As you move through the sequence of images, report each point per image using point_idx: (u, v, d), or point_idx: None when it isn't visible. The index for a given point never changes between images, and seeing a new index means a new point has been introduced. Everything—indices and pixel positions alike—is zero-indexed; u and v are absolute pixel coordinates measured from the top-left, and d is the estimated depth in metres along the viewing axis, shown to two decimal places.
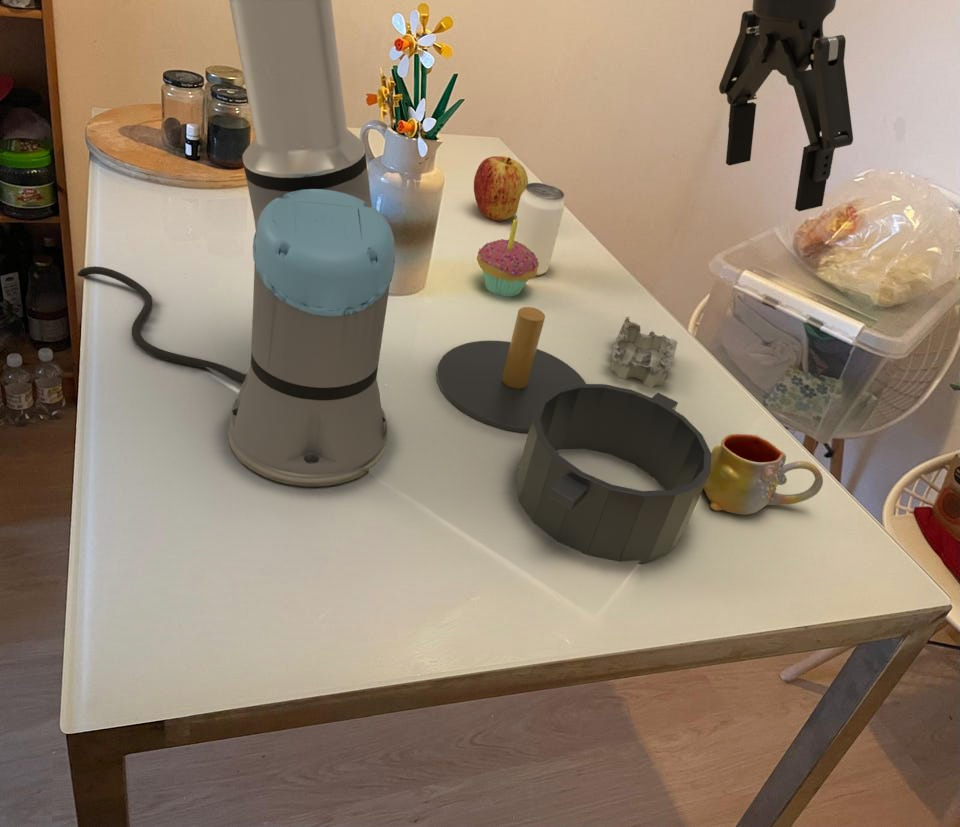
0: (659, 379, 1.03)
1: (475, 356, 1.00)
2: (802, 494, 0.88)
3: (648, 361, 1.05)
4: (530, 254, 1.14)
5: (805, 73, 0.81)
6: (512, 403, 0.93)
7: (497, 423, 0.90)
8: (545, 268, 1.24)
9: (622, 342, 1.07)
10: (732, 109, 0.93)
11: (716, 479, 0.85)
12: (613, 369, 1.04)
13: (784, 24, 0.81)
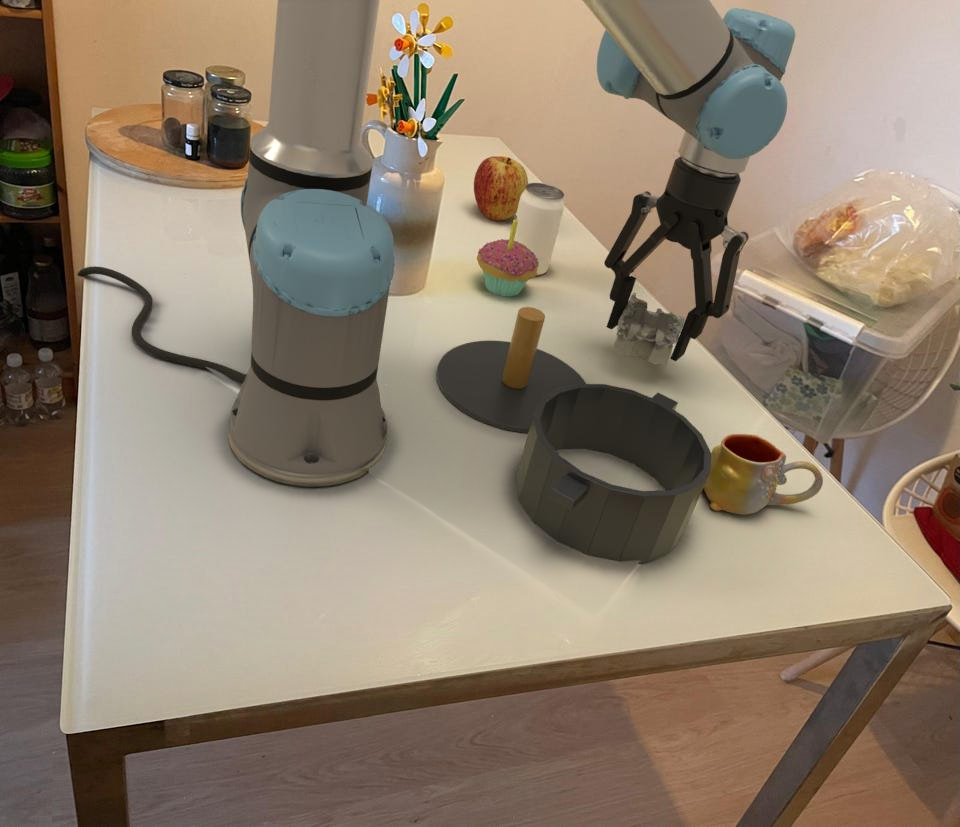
0: (665, 354, 1.01)
1: (475, 356, 1.00)
2: (802, 494, 0.88)
3: (653, 336, 1.02)
4: (530, 254, 1.14)
5: (704, 253, 0.96)
6: (512, 403, 0.93)
7: (497, 423, 0.90)
8: (545, 268, 1.24)
9: (628, 318, 1.05)
10: (623, 283, 1.03)
11: (716, 479, 0.85)
12: (617, 344, 1.02)
13: (694, 209, 0.94)
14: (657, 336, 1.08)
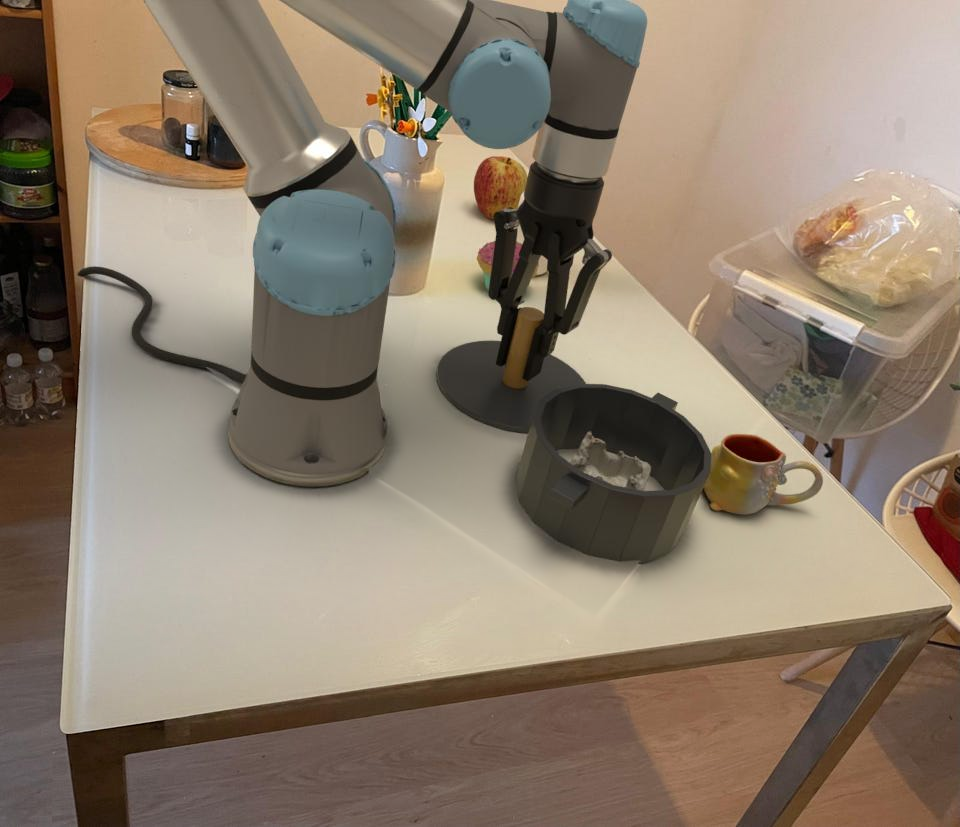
0: None
1: (475, 356, 1.00)
2: (802, 494, 0.88)
3: None
4: None
5: (563, 267, 0.87)
6: (512, 403, 0.93)
7: (497, 423, 0.90)
8: (545, 268, 1.24)
9: (579, 467, 0.83)
10: (509, 317, 0.92)
11: (716, 479, 0.85)
12: None
13: (555, 218, 0.84)
14: None
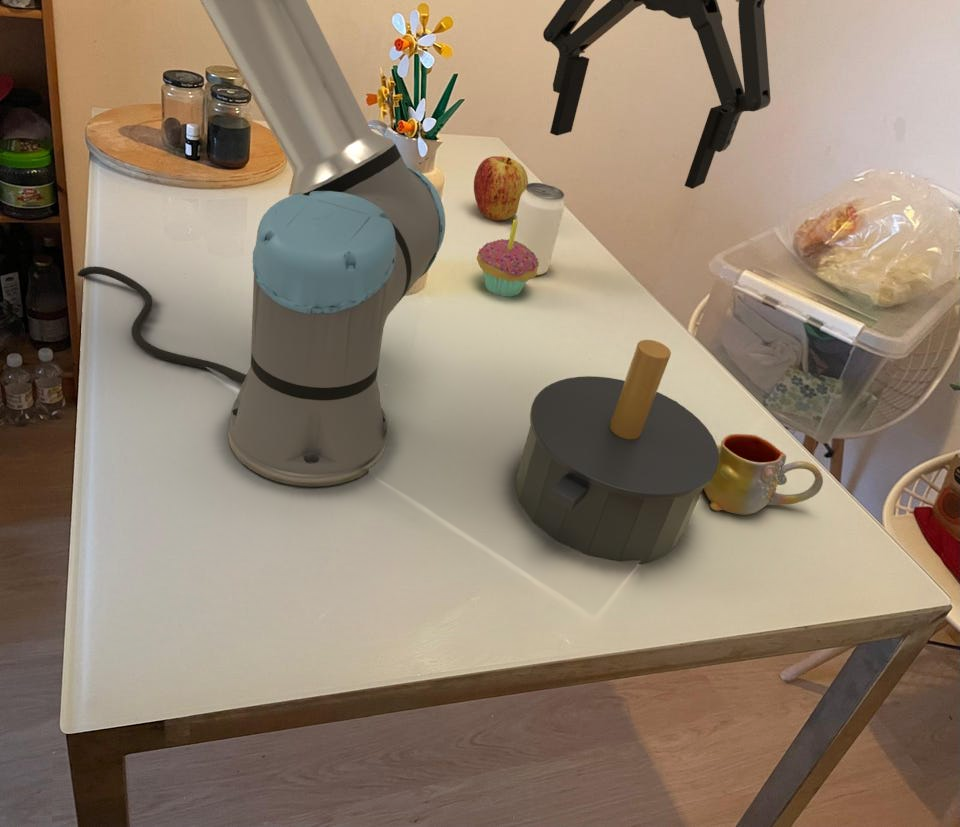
0: None
1: (573, 397, 0.82)
2: (802, 494, 0.88)
3: None
4: (530, 254, 1.14)
5: (711, 16, 0.66)
6: (628, 459, 0.75)
7: (615, 487, 0.71)
8: (545, 268, 1.24)
9: None
10: (570, 62, 0.73)
11: (716, 479, 0.85)
12: None
13: None
14: None
